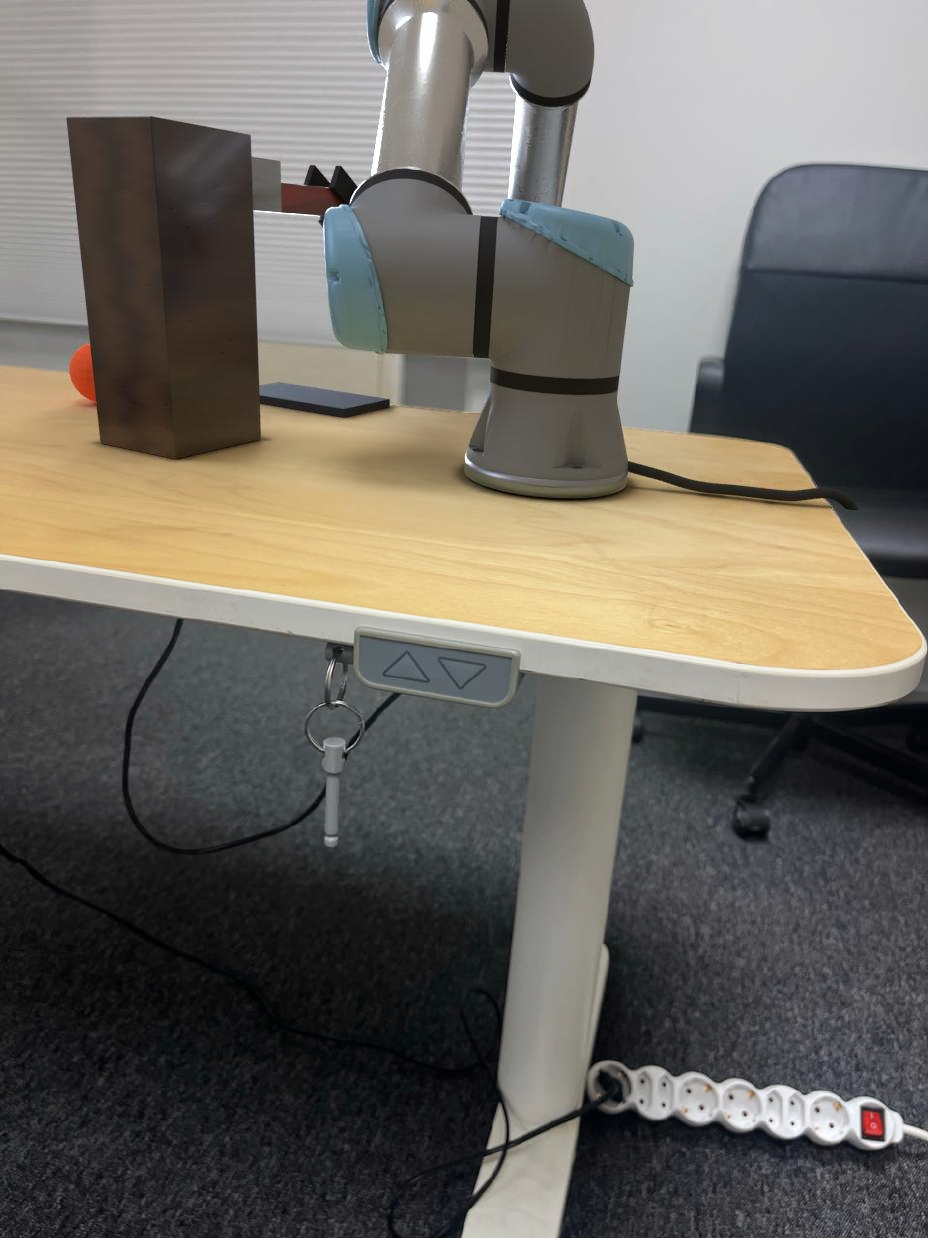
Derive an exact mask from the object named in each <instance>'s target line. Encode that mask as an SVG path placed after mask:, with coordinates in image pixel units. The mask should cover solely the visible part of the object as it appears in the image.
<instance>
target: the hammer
mask: <svg viewBox="0 0 928 1238" xmlns="http://www.w3.org/2000/svg"><path fill="white" fill-rule="evenodd" d="M281 163H282V161H281V159H274V158H269V157H268V158H266V157H262V156H255V155H252V184H253V212H259V213H262V212H263V213H273V214H284V215H285V214H286V215H300V216H310V217H311V216H312V217H320V216H324V215H325V212H326V211H327V210H328V209H329V208H331V207H339V206H340V205H344V204H343V203H342V202H341V201H340V200H339V199H338V197H337V196H336V195H335V194H334V193H333V192H332V190H331V189H330V188H325V187H317V186H309V185H303V184H299V183H292V182H291V183H290V182H283V181H282V167H281V166H282V165H281Z"/></svg>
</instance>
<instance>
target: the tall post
mask: <svg viewBox="0 0 928 1238" xmlns="http://www.w3.org/2000/svg"><path fill="white" fill-rule="evenodd" d="M65 121H66V128H67V130H66V131H67V139H68V149H69V156H70V168H71V174H72V175H71V177H72V185H73V194H74V196H73V197H74V206H75V214H76V223H77V232H78V243H79V253H80V261H81V262H80V263H81V272H82V280H83V281H82V282H83V291H84V299H85V311H86V321H87V329H88V338H89V343H90V349H91V358H92V368H93V377H94V387H95V396H96V402H95V405H96V415H97V423H98V425H97V426H98V435H99V443H100V444H104V445H106V446H107V445H108V446H113V447H118V448H122V449H126V450H130V451H136V452H141V453H145V454H149V455H150V454H151V455H154V456H159V457H164V458H169V459H174V460H179V459H183V458H186V457H190V456H191V457H192V456H194V455H200V454H204V453H208V452H212V451H216V450H221V449H224V448H229V447H234V446H238V445H242V444H243V445H244V444H246V443H247V444H248V443H251V442H255V441H259V440H262V427H261V425H262V423H261V421H262V420H261V403H260V391H259V385H260V372H259V371H260V366H259V339H258V338H259V337H258V335H259V334H258V332H259V331H258V307H257V304H258V303H257V277H256V276H257V274H256V249H255V247H256V246H255V220H254V219H255V217H254V216H255V215H254V214H255V213H254V211H253V184H252V156H253V153H252V135H251V134H249V133H243V132H238V131H232V130H228V129H221V128H217V127H213V126H207V125H202V124H196V123H190V122H185V121H179V120H174V119H169V118H165V117H164V118H163V117H158V116H152V115H112V116H111V115H110V116H108V115H107V116H105V115H104V116H102V115H101V116H96V115H95V116H66V119H65Z"/></svg>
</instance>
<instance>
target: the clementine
mask: <svg viewBox="0 0 928 1238" xmlns="http://www.w3.org/2000/svg"><path fill="white" fill-rule="evenodd" d="M68 369H69V371H68V373H69V377H70V382H71V383H72V386H74V388H75V389H76V390H77V392H78V393H79V394H80V395H81V396H82V397H84V398H85V399H87V400H89V401H91V402H94V403H96V396H95V387H94V377H93V368H92V358H91V349H90V342H89V343H85V344H83V345H82V346H81V347H79V348H78V349H77V350H75V352H74V354H73V355H72V356H71V359H70V362H69V367H68Z"/></svg>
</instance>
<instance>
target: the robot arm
mask: <svg viewBox="0 0 928 1238" xmlns="http://www.w3.org/2000/svg"><path fill="white" fill-rule="evenodd" d="M366 35H367V42H368V47H369V52H370V54H371V57H372V59H373V60H374V61H375V63H376V64H378V65H380V66H383V68H384V70H385V71H386V73H387V74H386V78H385V84H384V85H385V86H384V92H383V97H382V104H381V111H380V117H379V124H378V129H377V135H376V142H375V150H374V156H373V162H372V168H371V174H370V176H368V177H367V178H366V179H365V180H363V181H362V182H361V183H360V184H359V185H357V184H356V182H355V181H354V180H353V179H352V177H351V176H350V175H349V173H347V171H346V170H345V168H344V167H343V166H342V165H335V167H334V170H333V174H332V176H331V180H330V181H329V179H328V178H326V176H325V175H324V174H323V173H322V171H321V170H319V169H320V168H318V167H317V165H316V164H309V166H308V169H307V173H306V175H305V179H304V182H303V184H302V185H309V186H317V187H325V188H330V189H331V190H332V192H333V193H334V194H335V195H336V196H337V197H338V199H339V200H340V201H341V202H342V203H343V204H344V205H340V206H339V207H331V208H329V209H328V210H327V211H326V212H325V215H324V216H318V219H317V222H318V224H319V225H320V226H321V227H322V229H323V250H324V251H323V253H324V268H325V280H326V291H327V300H328V309H329V317H330V322H331V328H332V332H333V334H334V337H335V339H336V340H337V342H338V343H340V344H341V346H343V347H345V348H347V349H349V350H357V351H365V352H372V353H373V352H374V353H376V354H377V355H385V354H389V355H409V356H410V355H411V356H431V357H450V358H451V357H452V358H471V359H486V360H490V370H489V386H488V392H487V394H486V397H485V400H484V403H483V405H482V408H481V410H480V412H479V416H478V419H477V421H476V424H475V426H474V429H473V431H472V434H471V437H470V440H469V443H468V445H467V448H466V452H465V455H464V467H463V468H464V469H463V471H464V475H465V476H466V477H467V478H468V479H470V480H471V481H473V482H475V483H476V484H479V485H481V486H483V487H486V488H490V489H493V490H497V491H500V492H506V493H511V494H515V495H522V496H530V497H539V498H553V499H585V498H597V497H603V496H608V495H612V494H615V493H619V492H621V491H623V490H624V489H625V488H626V487H627V483H628V478H629V477H628V476H629V473H631V474H634V475H637V476H642V477H646V478H649V479H652V480H657V481H659V482H663V483H666V484H668V485H672V486H674V487H678V488H680V489H685V490H688V491H693V492H697V493H705V494H712V495H722V496H723V495H724V496H735V497H743V498H750V499H751V498H753V499H759V500H760V499H761V500H770V501H777V502H778V501H780V502H804V501H811V500H819V499H829V500H833V501H835V502H837V503H838V504H839V505H841V506H842V507H843V508H844V509H845V510H849V511H859V510H860V509H859V507H858V505H857V503H856V502H855V500H854V499H852V497H851V496H849V495H848V494H847V493H845V492H844V491H842V490H841V489H837V488H832V487H812V488H805V489H794V490H790V489H789V490H787V489H775V488H767V487H766V488H765V487H757V486H748V485H740V484H729V483H717V482H710V481H709V482H707V481H701V480H697V479H692V478H687V477H684V476H682V475H678V474H675V473H672V472H669V471H667V470H663V469H659V468H656V467H653V466H648V465H645V464H641V463H638V462H634V461H631V460H629V459H628V452H627V447H626V442H625V436H624V432H623V431H624V430H623V425H622V421H621V416H620V415H621V414H620V410H619V405H618V404H619V403H618V395H619V394H618V393H619V385H620V376H621V368H622V359H623V350H624V343H625V334H626V327H627V317H628V308H629V302H630V292H631V288H633V287H634V279H633V273H634V272H633V271H634V254H635V239H634V235H633V234H632V232H631V230H630V228H629V227H628V226H627V225H625V224H624V223H623V222H621V221H619V220H615V219H613V218H609V217H606V216H602V215H598V214H593V213H590V212H585V211H581V210H576V209H571V208H567V207H562V206H563V200H564V194H565V188H566V181H567V177H568V170H569V164H570V157H571V151H572V145H573V139H574V132H575V127H576V120H577V115H578V108H579V102H580V101H581V100H583V98H584V97H585V96H586V95H587V93H588V92H589V90H590V88H591V83H592V76H593V71H594V66H595V65H594V64H595V40H594V31H593V27H592V23H591V19H590V14H589V11H588V9H587V6H586V3H585V1H584V0H366ZM483 73H502V74H505V73H508V74H509V81H510V82H509V83H510V86H511V89H512V90H513V92H514V93H515V94H516V100H515V112H514V121H513V123H514V124H513V135H512V145H511V146H512V147H511V159H510V171H509V184H508V195H507V198H505V199H504V200H503V201H502V202H501V204H500V207H499V208H498V215H499V216H492V215H479V214H474V212H473V208H472V206H471V204H470V202H469V200H468V199H467V197H466V196H465V195H464V193H463V192H462V191H463V182H464V181H463V178H464V169H465V167H464V166H465V157H466V147H467V146H466V145H467V144H466V143H467V133H468V121H469V111H470V110H469V109H470V99H471V89H472V88H473V87H474V86H475V85H476V84H477V82H478V81H479V80H480V78H481V76H483V75H482V74H483Z"/></svg>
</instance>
